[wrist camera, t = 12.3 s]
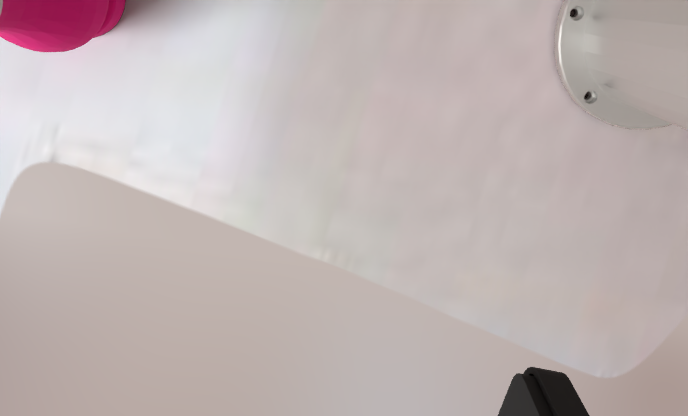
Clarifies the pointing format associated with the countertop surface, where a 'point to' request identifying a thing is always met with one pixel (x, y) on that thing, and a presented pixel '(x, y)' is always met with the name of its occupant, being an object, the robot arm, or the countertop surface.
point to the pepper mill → (57, 22)
